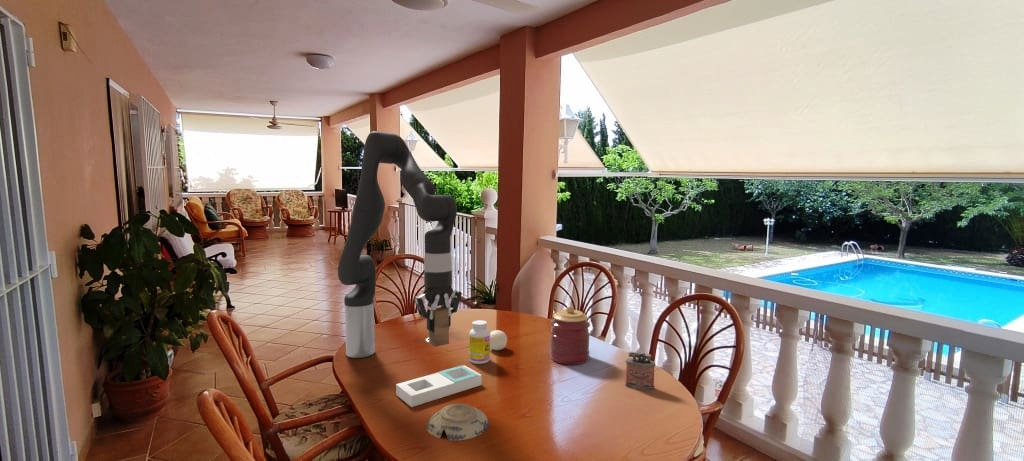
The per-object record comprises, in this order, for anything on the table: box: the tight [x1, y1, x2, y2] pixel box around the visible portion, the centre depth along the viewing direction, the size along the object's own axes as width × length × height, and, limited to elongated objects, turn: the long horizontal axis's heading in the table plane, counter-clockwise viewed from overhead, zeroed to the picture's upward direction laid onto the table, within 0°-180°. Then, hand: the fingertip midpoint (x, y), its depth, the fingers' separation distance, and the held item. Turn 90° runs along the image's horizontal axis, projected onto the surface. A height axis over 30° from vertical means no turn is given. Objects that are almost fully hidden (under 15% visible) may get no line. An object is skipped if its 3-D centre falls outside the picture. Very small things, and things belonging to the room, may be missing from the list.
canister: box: [549, 305, 591, 365], centre depth 157 cm, size 13×13×18 cm
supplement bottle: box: [468, 319, 491, 365], centre depth 154 cm, size 7×7×13 cm
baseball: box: [490, 329, 508, 351], centre depth 165 cm, size 7×7×7 cm
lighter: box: [624, 351, 656, 391], centre depth 135 cm, size 8×3×10 cm, turn 71°
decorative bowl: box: [426, 403, 490, 441], centre depth 115 cm, size 15×4×15 cm
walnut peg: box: [428, 305, 450, 348], centre depth 131 cm, size 4×4×10 cm
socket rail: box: [395, 364, 483, 408], centre depth 133 cm, size 9×22×3 cm, turn 128°
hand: (438, 329), depth 131 cm, fingers closed on walnut peg, 4 cm apart
